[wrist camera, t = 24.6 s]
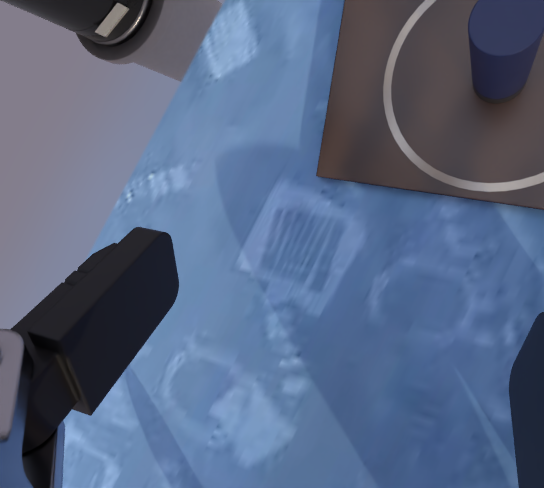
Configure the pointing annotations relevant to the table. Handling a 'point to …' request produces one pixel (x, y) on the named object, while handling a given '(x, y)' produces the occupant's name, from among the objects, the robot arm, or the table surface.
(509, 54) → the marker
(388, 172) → the brown wooden board
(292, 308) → the table surface
